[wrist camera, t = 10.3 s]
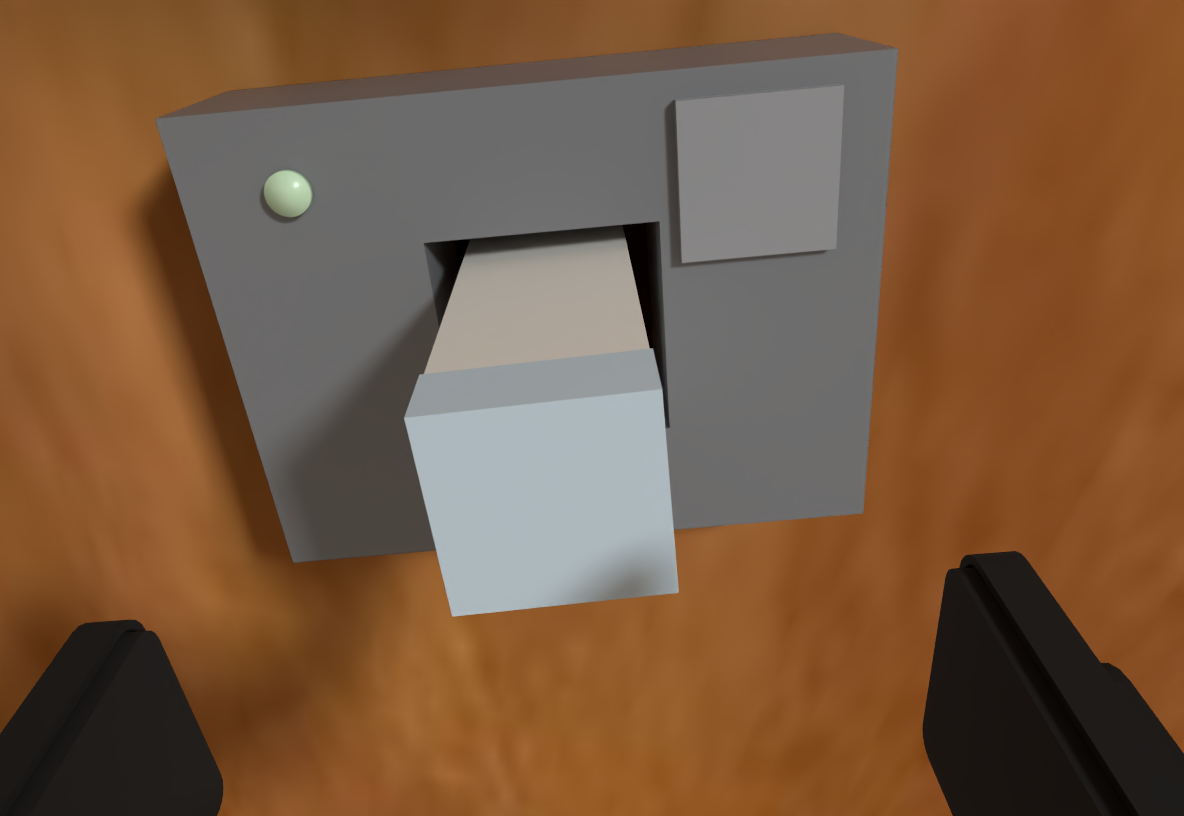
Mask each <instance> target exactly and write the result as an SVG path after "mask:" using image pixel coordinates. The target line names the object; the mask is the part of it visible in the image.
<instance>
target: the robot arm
mask: <svg viewBox="0 0 1184 816" xmlns="http://www.w3.org/2000/svg"><path fill="white" fill-rule="evenodd" d="M923 739H924V745H925V749H926V753H927V755H928V758H929V761H930V763H931V765H932V768H933V770H934V773H935V775H936V777H937V780H938V782H939V784H940V787H941V789H942V791H943V794H944V796H945V798H946V801H947V803H948V805H949V808H950V810H951V812H952V815H953V816H1184V753H1183V752H1182V751H1181V749H1180V748H1179V747H1178V745H1177V744H1176V742H1175V741H1174V740H1173V738H1172V737H1171V736H1170V734H1169V733H1168V732H1167V730H1166V729H1165V728H1164V726H1163V725H1162V723H1161V722H1160V721H1159V719H1158V718H1157V717H1156V715H1155V714H1154V713H1153V711H1152V710H1151V709H1150V707H1149V706H1148V704H1147V703H1146V702H1145V700H1144V699H1143V698H1142V696H1141V695H1140V694H1139V692H1138V691H1137V690H1136V688H1135V687H1134V685H1133V684H1132V683H1131V681H1130V680H1129V679H1128V678H1127V677H1126V676H1125V675H1124V674H1123V673H1122V672H1121V670H1120V669H1118V668H1116V667H1115V666H1113V665H1111V664H1109V663H1100V661H1099V660H1098V659H1097V657H1096V656H1095V654H1094V653H1093V652H1092V650H1091V649H1090V647H1089V646H1088V645H1087V643H1086V642H1085V640H1084V639H1083V638H1082V636H1081V635H1080V633H1079V632H1078V631H1077V629H1076V628H1075V626H1074V625H1073V624H1072V622H1071V621H1070V619H1069V618H1068V617H1067V615H1066V614H1065V612H1064V611H1063V610H1062V608H1061V607H1060V605H1059V604H1058V603H1057V601H1056V600H1055V598H1054V597H1053V596H1052V594H1051V593H1050V591H1049V590H1048V589H1047V587H1046V586H1045V584H1044V583H1043V582H1042V580H1041V579H1040V577H1039V576H1038V575H1037V573H1036V572H1035V570H1034V569H1033V568H1032V566H1031V565H1030V563H1029V562H1028V561H1027V559H1026V558H1025V557H1024V556H1023V555H1022V554H1021V553H1019V552H1016V551H1011V552H998V553H985V554H973V555H966V556H964V558H963V559H962V560H961V564H960V568H956V569H949V571H948V572H947V574H946V578H945V584H944V591H943V597H942V604H941V610H940V617H939V623H938V629H937V636H936V642H935V649H934V655H933V662H932V668H931V675H930V681H929V688H928V694H927V700H926V707H925V713H924V720H923ZM222 797H223V780H222V776H221V773H220V771H219V769H218V767H217V765H216V762H215V760H214V758H213V756H212V754H211V752H210V749H209V747H208V745H207V743H206V741H205V738H204V736H203V734H202V732H201V730H200V727H199V725H198V723H197V721H196V719H195V716H194V714H193V712H192V710H191V708H190V705H189V703H188V701H187V699H186V697H185V695H184V692H183V690H182V688H181V686H180V684H179V681H178V679H177V677H176V675H175V673H174V670H173V668H172V666H171V664H170V662H169V659H168V657H167V655H166V653H165V651H164V648H163V646H162V644H161V642H160V640H159V638H158V636H157V635H156V633H154V632H153V631H146V630H145V628H144V627H143V625H142V624H141V623H140V622H138V621H137V620H119V621H106V622H93V623H85V624H83V625H80V626H78V628H77V629H76V630H75V631H74V632H73V633H72V634H71V635H70V637H69V638H68V640H67V641H66V642H65V644H64V645H63V647H62V648H61V649H60V651H59V652H58V654H57V655H56V656H55V658H54V659H53V661H52V662H51V664H50V665H49V666H48V668H47V669H46V671H45V672H44V673H43V675H42V676H41V678H40V679H39V680H38V682H37V683H36V685H35V686H34V687H33V689H32V690H31V692H30V693H29V694H28V696H27V697H26V699H25V700H24V701H23V703H22V704H21V706H20V707H19V708H18V710H17V711H16V713H15V714H14V715H13V717H12V718H11V720H10V721H9V723H8V724H7V725H6V727H5V728H4V730H3V731H2V732H1V734H0V816H217V814H218V812H219V809H220V806H221V803H222Z"/></svg>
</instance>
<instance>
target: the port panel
mask: <svg viewBox="0 0 1184 816" xmlns="http://www.w3.org/2000/svg"><path fill="white" fill-rule="evenodd" d="M897 56H898V48H895V47H891V46H887V45H883V44H879V43H875V42H871V41H867V40H864V39H860V38H856V37H852V36H848V35H844V34H840V33H832V34H822V35H811V36H801V37H790V38H780V39H769V40H759V41H748V42H738V43H727V44H717V45H706V46H696V47H685V48H675V49H664V50H654V51H643V52H633V53H622V54H612V55H601V56H591V57H580V58H570V59H559V60H549V61H538V62H528V63H517V64H507V65H496V66H486V67H475V68H465V69H454V70H444V71H433V72H423V73H412V74H402V75H391V76H381V77H370V78H360V79H349V80H339V81H328V82H318V83H307V84H297V85H286V86H276V87H265V88H255V89H244V90H234V91H227V92H224V93H222V94H219V95H216V96H214V97H211V98H209V99H206V100H203V101H201V102H198V103H195V104H193V105H190V106H188V107H185V108H182V109H180V110H177V111H174V112H172V113H169V114H167V115H164V116H161V117H159V118H156V119H155V120H156V124H157V127H158V130H159V133H160V136H161V140H162V143H163V146H164V149H165V153H166V156H167V159H168V162H169V165H170V169H171V172H172V175H173V178H174V181H175V185H176V188H177V191H178V194H179V198H180V201H181V204H182V207H183V210H184V214H185V217H186V220H187V223H188V226H189V230H190V233H191V236H192V239H193V243H194V246H195V249H196V252H197V255H198V259H199V262H200V265H201V268H202V271H203V275H204V278H205V281H206V284H207V287H208V291H209V294H210V297H211V300H212V304H213V307H214V310H215V313H216V316H217V320H218V323H219V326H220V329H221V332H222V336H223V339H224V342H225V345H226V349H227V352H228V355H229V358H230V361H231V365H232V368H233V371H234V374H235V377H236V381H237V384H238V387H239V390H240V394H241V397H242V400H243V403H244V406H245V410H246V413H247V416H248V419H249V422H250V426H251V429H252V432H253V435H254V438H255V442H256V445H257V448H258V451H259V455H260V458H261V461H262V464H263V467H264V471H265V474H266V477H267V480H268V483H269V487H270V490H271V493H272V496H273V500H274V503H275V506H276V509H277V512H278V516H279V519H280V522H281V525H282V528H283V532H284V535H285V538H286V541H287V545H288V548H289V551H290V554H291V557H292V561H293V563H296V562H308V561H319V560H331V559H342V558H354V557H365V556H377V555H388V554H400V553H411V552H423V551H434V550H436V547H435V543H434V539H433V535H432V531H431V526H430V522H429V518H428V514H427V510H426V506H425V502H424V498H423V494H422V489H421V485H420V481H419V477H418V473H417V469H416V465H415V461H414V457H413V452H412V448H411V444H410V440H409V436H408V432H407V428H406V424H405V420H404V417H405V414H406V411H407V408H408V406H409V403H410V400H411V397H412V394H413V391H414V389H415V386H416V383H417V380H418V377H419V375H420V374H424V372H425V369H426V366H427V363H428V360H429V357H430V355H431V352H432V349H433V346H434V343H435V340H436V337H437V334H438V331H439V328H440V325H441V323H442V320H443V317H444V314H445V311H446V308H447V305H448V302H449V299H450V296H451V293H452V290H453V288H454V285H455V282H456V279H457V276H458V273H459V264H458V258H457V252H456V246H455V240H462V239H473V238H484V237H494V236H505V235H516V234H527V233H538V232H549V231H560V230H570V229H581V228H592V227H603V226H614V225H625V224H635V223H646V228H647V245H648V263H649V281H650V298H651V316H652V333H653V351H654V355H655V360H656V364H657V368H658V373H659V377H660V382H661V386H662V392H663V405H664V417H665V429H666V442H667V454H668V466H669V479H670V491H671V503H672V516H673V528H674V530H677V529H688V528H700V527H711V526H723V525H734V524H746V523H757V522H769V521H780V520H792V519H803V518H815V517H826V516H838V515H850V514H861V513H863V507H864V494H865V481H866V468H867V454H868V441H869V428H870V414H871V401H872V388H873V375H874V361H875V348H876V335H877V321H878V308H879V295H880V282H881V268H882V255H883V242H884V228H885V215H886V202H887V189H888V175H889V162H890V149H891V135H892V122H893V109H894V96H895V82H896V69H897Z"/></svg>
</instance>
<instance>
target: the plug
mask: <svg viewBox="0 0 1184 816" xmlns="http://www.w3.org/2000/svg"><path fill="white" fill-rule="evenodd" d="M404 420H405V424H406V428H407V432H408V436H409V440H410V444H411V448H412V452H413V457H414V461H415V465H416V469H417V473H418V477H419V481H420V485H421V489H422V494H423V498H424V502H425V506H426V510H427V514H428V518H429V522H430V526H431V531H432V535H433V539H434V543H435V547H436V551H437V555H438V559H439V564H440V568H441V572H442V576H443V580H444V584H445V588H446V592H447V596H448V601H449V605H450V609H451V613H452V617H453V616H462V615H472V614H481V613H491V612H500V611H510V610H519V609H529V608H538V607H547V606H557V605H566V604H576V603H585V602H595V601H604V600H614V599H623V598H633V597H642V596H652V595H661V594H671V593H679V590H678V578H677V565H676V553H675V541H674V528H673V516H672V503H671V491H670V479H669V466H668V454H667V442H666V429H665V417H664V405H663V392H662V386H661V382H660V377H659V373H658V368H657V364H656V360H655V355H654V351H653V348H649V343H648V339H647V334H646V329H645V325H644V320H643V316H642V311H641V307H640V302H639V298H638V293H637V288H636V284H635V279H634V275H633V270H632V266H631V261H630V257H629V252H628V247H627V243H626V238H625V234H624V229H623V225H614V226H603V227H592V228H581V229H570V230H560V231H549V232H538V233H527V234H516V235H505V236H494V237H484V238H473V239H470V241H469V244H468V247H467V250H466V253H465V256H464V258H463V261H462V264H461V267H460V270H459V273H458V276H457V279H456V282H455V285H454V288H453V290H452V293H451V296H450V299H449V302H448V305H447V308H446V311H445V314H444V317H443V320H442V323H441V325H440V328H439V331H438V334H437V337H436V340H435V343H434V346H433V349H432V352H431V355H430V357H429V360H428V363H427V366H426V369H425V372H424V374H420V375H419V377H418V380H417V383H416V386H415V389H414V391H413V394H412V397H411V400H410V403H409V406H408V408H407V411H406V414H405V417H404Z"/></svg>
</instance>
